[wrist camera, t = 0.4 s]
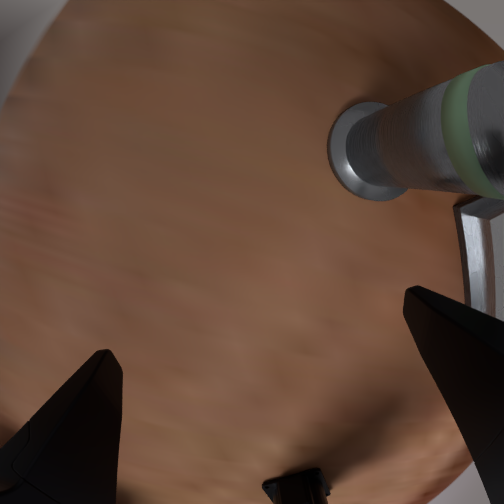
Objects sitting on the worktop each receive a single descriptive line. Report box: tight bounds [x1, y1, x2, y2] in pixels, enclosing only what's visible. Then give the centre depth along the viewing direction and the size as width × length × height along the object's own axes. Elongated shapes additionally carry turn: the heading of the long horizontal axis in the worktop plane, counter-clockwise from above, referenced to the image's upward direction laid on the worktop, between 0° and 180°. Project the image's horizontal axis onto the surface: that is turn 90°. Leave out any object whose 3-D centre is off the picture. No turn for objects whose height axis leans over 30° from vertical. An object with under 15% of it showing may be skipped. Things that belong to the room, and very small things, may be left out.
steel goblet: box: [327, 61, 504, 201], centre depth 14 cm, size 7×7×14 cm
